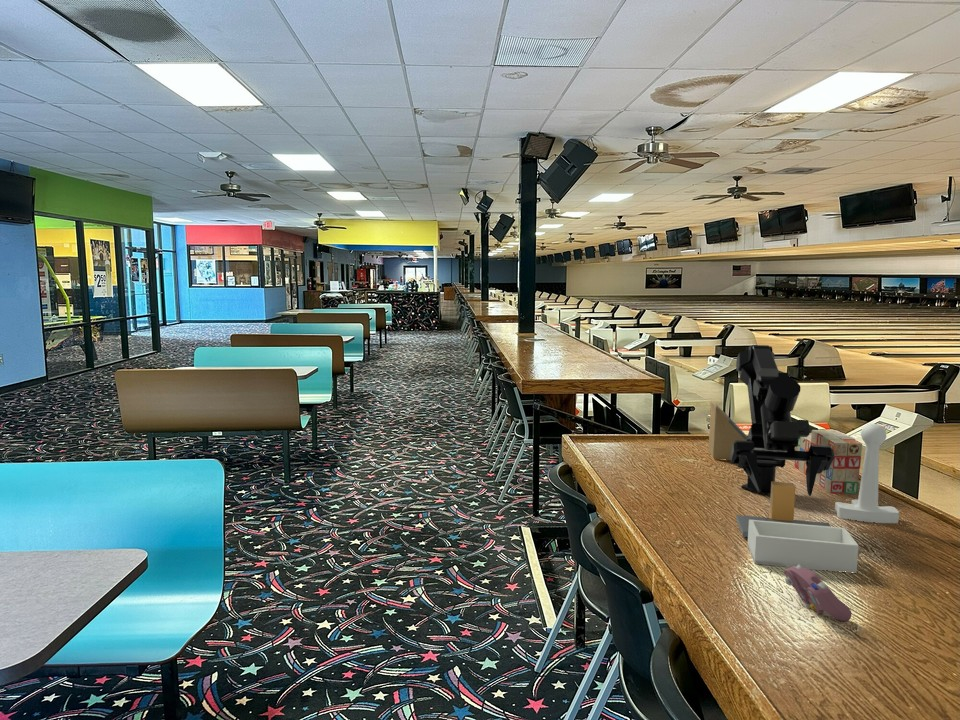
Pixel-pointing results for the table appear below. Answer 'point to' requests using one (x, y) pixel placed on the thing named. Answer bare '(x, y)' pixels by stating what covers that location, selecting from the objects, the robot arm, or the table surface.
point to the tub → (802, 546)
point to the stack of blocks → (835, 460)
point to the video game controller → (816, 593)
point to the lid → (778, 508)
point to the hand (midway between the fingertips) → (784, 492)
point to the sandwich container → (722, 433)
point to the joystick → (869, 484)
